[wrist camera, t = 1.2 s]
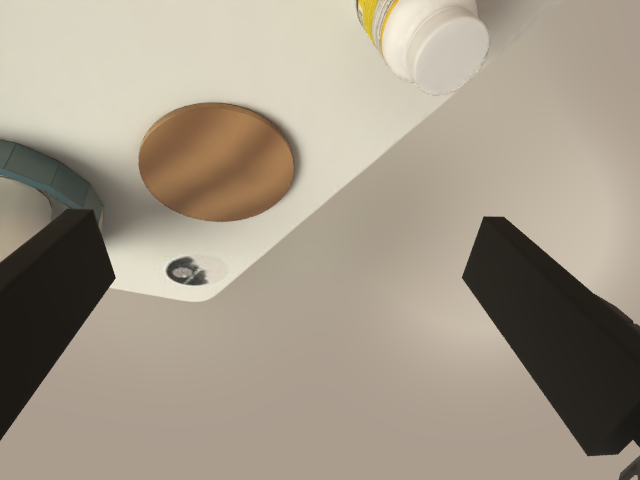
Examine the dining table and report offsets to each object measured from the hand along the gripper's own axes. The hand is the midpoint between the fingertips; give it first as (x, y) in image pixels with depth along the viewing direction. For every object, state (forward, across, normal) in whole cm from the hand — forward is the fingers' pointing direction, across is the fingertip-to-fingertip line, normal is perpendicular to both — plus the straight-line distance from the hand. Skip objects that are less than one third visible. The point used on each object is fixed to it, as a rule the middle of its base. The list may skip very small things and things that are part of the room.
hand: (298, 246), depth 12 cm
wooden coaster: (+22, -7, -5) cm, 23 cm away
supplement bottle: (+18, +6, +9) cm, 22 cm away
